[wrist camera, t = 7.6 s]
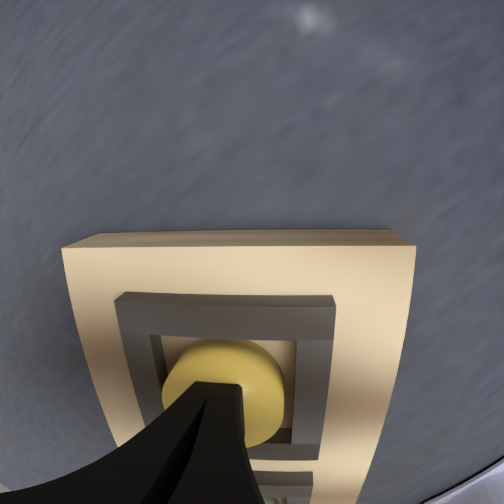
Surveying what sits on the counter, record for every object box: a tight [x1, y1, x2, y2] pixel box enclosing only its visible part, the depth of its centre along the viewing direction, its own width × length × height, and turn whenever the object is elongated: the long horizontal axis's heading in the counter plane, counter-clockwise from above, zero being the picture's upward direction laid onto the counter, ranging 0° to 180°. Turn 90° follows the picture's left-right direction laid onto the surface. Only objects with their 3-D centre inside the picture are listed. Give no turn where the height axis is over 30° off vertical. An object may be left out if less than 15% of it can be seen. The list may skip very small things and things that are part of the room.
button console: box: [61, 229, 416, 504], centre depth 13 cm, size 25×11×3 cm, turn 2°
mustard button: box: [162, 338, 285, 448], centre depth 9 cm, size 4×4×1 cm
